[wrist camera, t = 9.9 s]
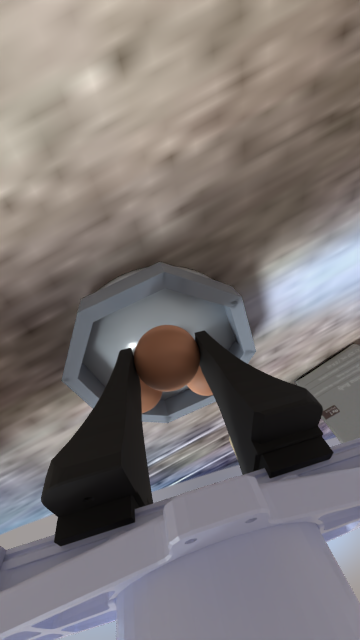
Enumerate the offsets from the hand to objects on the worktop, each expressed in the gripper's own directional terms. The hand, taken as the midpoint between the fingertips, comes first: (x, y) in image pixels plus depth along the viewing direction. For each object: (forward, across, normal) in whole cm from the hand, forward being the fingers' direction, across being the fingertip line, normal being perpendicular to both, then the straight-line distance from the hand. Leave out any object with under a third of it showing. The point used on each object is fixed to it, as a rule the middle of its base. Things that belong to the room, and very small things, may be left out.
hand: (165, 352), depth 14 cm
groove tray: (+5, 0, +4) cm, 6 cm away
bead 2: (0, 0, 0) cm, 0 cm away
